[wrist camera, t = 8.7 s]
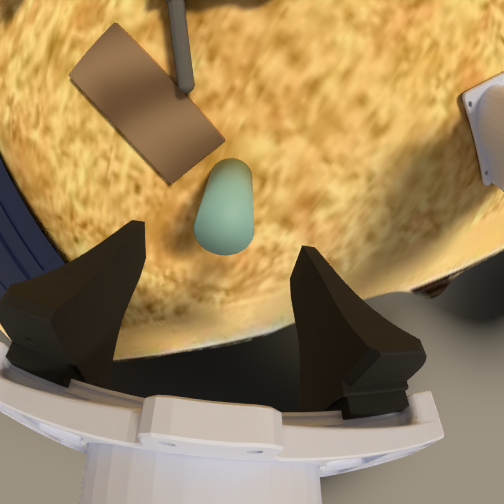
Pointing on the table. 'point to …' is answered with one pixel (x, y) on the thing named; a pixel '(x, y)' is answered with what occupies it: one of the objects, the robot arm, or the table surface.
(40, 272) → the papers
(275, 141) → the table surface
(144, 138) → the batten
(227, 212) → the dowel
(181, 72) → the walkie-talkie
